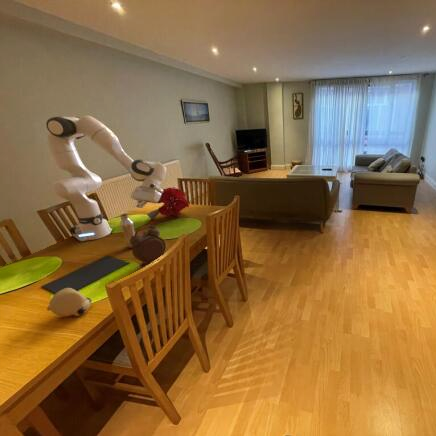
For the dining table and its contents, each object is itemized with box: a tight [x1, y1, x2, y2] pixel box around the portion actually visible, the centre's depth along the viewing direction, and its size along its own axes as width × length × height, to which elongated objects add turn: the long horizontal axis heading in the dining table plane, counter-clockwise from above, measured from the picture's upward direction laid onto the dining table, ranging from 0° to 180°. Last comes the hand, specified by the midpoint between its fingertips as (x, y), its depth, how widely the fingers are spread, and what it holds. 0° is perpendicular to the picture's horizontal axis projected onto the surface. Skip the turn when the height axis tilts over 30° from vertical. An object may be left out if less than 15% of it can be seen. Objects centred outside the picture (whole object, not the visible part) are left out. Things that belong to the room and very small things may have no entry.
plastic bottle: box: [119, 213, 136, 249], centre depth 137 cm, size 6×7×20 cm
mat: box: [41, 255, 129, 295], centre depth 116 cm, size 18×28×1 cm, turn 156°
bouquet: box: [146, 186, 190, 220], centre depth 180 cm, size 22×24×30 cm
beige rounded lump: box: [46, 288, 93, 319], centre depth 91 cm, size 10×12×11 cm
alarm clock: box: [130, 225, 166, 266], centre depth 122 cm, size 15×7×20 cm, turn 150°
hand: (139, 207), depth 141 cm, fingers closed
